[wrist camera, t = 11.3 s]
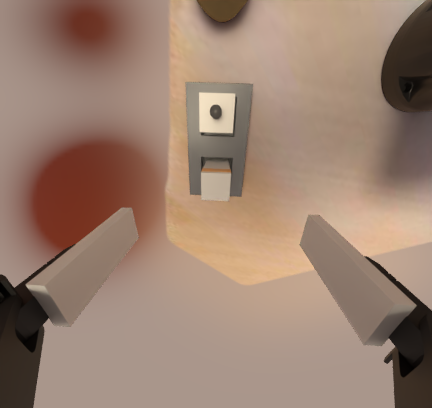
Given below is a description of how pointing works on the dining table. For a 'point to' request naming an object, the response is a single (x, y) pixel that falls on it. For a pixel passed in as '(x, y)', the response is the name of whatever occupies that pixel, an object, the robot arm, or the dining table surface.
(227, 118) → the twin plug
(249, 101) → the grey flat block
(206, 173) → the plug
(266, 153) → the dining table surface
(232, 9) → the squeeze bottle
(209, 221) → the dining table surface
